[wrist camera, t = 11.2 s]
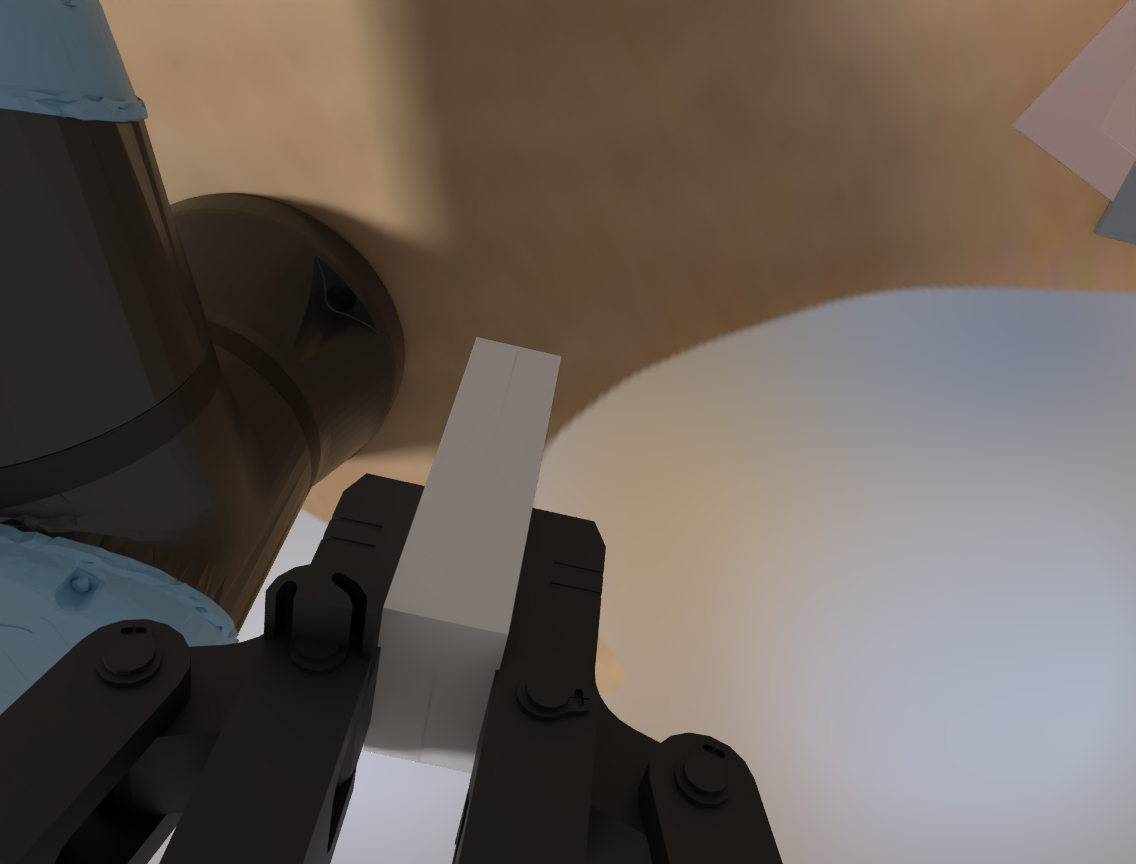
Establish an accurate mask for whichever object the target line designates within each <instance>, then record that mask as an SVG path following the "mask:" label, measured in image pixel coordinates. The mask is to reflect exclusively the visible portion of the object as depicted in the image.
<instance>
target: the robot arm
mask: <svg viewBox="0 0 1136 864" xmlns="http://www.w3.org/2000/svg"><path fill="white" fill-rule="evenodd" d="M146 118H148V115H147V110H146V107H145V105H144V102H143V100H141V99H140V98H139V97H137V96H136V95H135V93H134V90H133V88H132V85H131V82H130V80H129V77H128V74H127V72H126V69H125V67H124V64H123V61H122V59H121V56H120V54H119V51H118V48H117V46H116V43H115V40H114V38H113V35H112V33H111V30H110V27H109V25H108V22H107V19H106V17H105V14H104V11H103V8H102V6H101V4H100V2H99V0H0V864H147V863H148V862H149V861H150V859H151V858H152V857H153V855H154V854H155V853H156V852H157V850H158V849H159V848H160V846H161V845H162V844H163V843H164V841H165V840H166V839H167V837H168V836H169V835H170V833H171V832H172V831H173V830H174V828H175V827H176V829H175V831H174V833H173V835H172V837H171V839H170V842H169V844H168V846H167V848H166V850H165V852H164V854H163V857H162V859H161V861H160V863H159V864H330V863H331V859H332V856H333V853H334V850H335V846H336V843H337V840H338V837H339V834H340V830H341V827H342V824H343V820H344V817H345V814H346V811H347V807H348V804H349V801H350V798H351V795H352V792H353V788H354V780H355V773H356V766H357V762H358V759H359V756H360V753H361V750H362V747H363V744H364V748H363V750H364V751H368V752H373V753H377V754H382V755H387V756H391V757H397V758H401V759H406V760H411V761H415V762H421V763H425V764H430V765H435V766H440V767H445V768H449V769H454V770H459V771H463V772H469V773H472V774H471V779H470V784H469V789H468V793H467V797H466V801H465V805H464V809H463V813H462V817H461V821H460V825H459V829H458V833H457V837H456V841H455V844H456V848H455V852H454V857H453V862H452V864H783V863H782V860H781V857H780V854H779V851H778V848H777V845H776V842H775V839H774V836H773V833H772V830H771V827H770V824H769V821H768V818H767V815H766V812H765V809H764V806H763V803H762V800H761V797H760V794H759V791H758V788H757V785H756V782H755V779H754V777H753V776H752V774H751V772H750V770H749V768H748V766H747V764H746V762H745V761H744V760H743V759H742V758H741V757H740V756H739V755H738V754H737V753H736V752H735V751H734V750H733V749H732V748H730V747H729V746H728V745H726V744H724V743H722V742H720V741H718V740H716V739H714V738H712V737H710V736H706V735H700V734H695V733H684V734H678V735H673V736H670V737H669V738H667V739H666V740H664V741H663V742H662V743H659V742H658V741H655V740H654V739H652V738H650V737H648V736H646V735H644V734H642V733H640V732H638V731H636V730H635V729H633V728H631V727H630V726H628V725H627V724H625V723H624V722H622V721H621V720H619V719H618V718H617V717H616V716H615V715H614V714H613V713H612V712H611V711H610V710H609V709H608V707H607V706H606V704H605V703H604V701H603V700H602V698H601V697H600V694H599V692H598V689H597V686H596V682H595V663H596V652H597V640H598V629H599V618H600V605H601V593H602V583H603V572H604V561H605V550H606V546H605V544H604V542H603V540H602V538H601V535H600V533H599V531H598V529H597V526H596V524H595V522H594V521H589V520H585V519H580V518H576V517H571V516H567V515H563V514H558V513H554V512H549V511H544V510H540V509H536V508H533V502H534V497H535V492H536V487H537V481H538V476H539V471H540V466H541V461H542V455H543V450H544V445H545V440H546V434H547V429H548V424H549V419H550V414H551V408H552V403H553V398H554V393H555V387H556V382H557V377H558V372H559V366H560V361H561V356H558V355H554V354H549V353H545V352H541V351H536V350H532V349H527V348H523V347H519V346H514V345H510V344H506V343H501V342H497V341H492V340H488V339H484V338H479V337H476V340H475V343H474V346H473V349H472V352H471V355H470V357H469V360H468V363H467V366H466V369H465V372H464V375H463V378H462V381H461V384H460V386H459V389H458V392H457V395H456V398H455V401H454V404H453V407H452V410H451V412H450V415H449V418H448V421H447V424H446V427H445V430H444V433H443V436H442V439H441V441H440V444H439V447H438V450H437V453H436V456H435V459H434V462H433V465H432V467H431V470H430V473H429V476H428V479H427V482H426V485H425V486H422V485H417V484H413V483H408V482H403V481H399V480H394V479H390V478H385V477H381V476H376V475H372V474H367V473H366V474H365V475H364V476H363V477H361V478H360V479H359V480H357V481H356V482H355V483H354V484H352V485H351V486H350V487H349V488H347V489H346V490H345V491H343V494H342V496H341V498H340V500H339V502H338V505H337V507H336V509H335V511H334V513H333V516H332V520H330V522H329V524H328V527H327V529H326V531H325V533H324V537H323V540H321V542H320V544H319V547H318V549H317V551H316V553H315V555H314V557H313V560H312V562H311V564H310V565H304V566H299V567H295V568H293V569H291V570H289V571H287V572H286V573H284V574H282V575H280V576H278V577H277V578H276V579H275V580H274V581H273V583H272V584H271V585H270V586H269V588H268V589H267V590H266V598H265V623H264V634H263V635H261V636H259V637H256V638H253V639H250V640H247V641H244V642H240V643H238V641H239V640H238V639H236V637H237V636H238V633H239V631H240V629H241V627H242V625H243V623H244V621H245V619H246V617H247V615H248V613H249V611H250V609H251V607H252V605H253V603H254V601H255V599H256V597H257V595H258V593H259V591H260V589H261V587H262V585H263V583H264V581H265V579H266V577H267V575H268V573H269V571H270V569H271V567H272V565H273V563H274V561H275V559H276V557H277V555H278V553H279V550H280V549H281V547H282V545H283V543H284V541H285V539H286V537H287V535H288V533H289V531H290V529H291V527H292V525H293V523H294V521H295V519H296V517H297V515H298V513H299V511H300V509H301V507H302V505H303V503H304V501H305V499H306V497H307V495H308V493H309V491H310V489H311V487H312V486H314V485H315V484H316V483H318V482H319V481H320V480H322V479H323V478H325V477H326V476H327V475H328V474H330V473H331V472H332V471H334V470H335V469H336V468H338V467H339V466H340V465H341V464H343V463H344V462H345V461H346V460H348V459H350V458H351V457H353V456H354V455H355V454H356V453H358V452H359V451H360V450H361V449H362V448H364V447H365V446H366V445H367V443H368V442H369V441H370V440H371V439H372V438H373V437H374V435H375V434H376V433H377V431H378V430H379V429H380V427H381V425H382V424H383V422H384V420H385V418H386V416H387V414H388V412H389V410H390V408H391V405H392V403H393V401H394V399H395V397H396V394H397V392H398V389H399V386H400V383H401V379H402V375H403V369H404V340H403V334H402V329H401V325H400V321H399V318H398V315H397V312H396V309H395V307H394V304H393V302H392V300H391V298H390V296H389V294H388V292H387V290H386V288H385V287H384V285H383V283H382V282H381V280H380V279H379V277H378V276H377V274H376V273H375V271H374V270H373V269H372V268H371V266H370V265H369V264H368V263H367V261H366V260H365V259H364V258H363V257H362V256H361V255H360V254H359V253H358V252H357V251H356V250H355V249H354V248H353V247H352V246H351V245H350V244H349V243H348V242H347V241H345V240H344V239H343V238H342V237H341V236H339V235H338V234H337V233H335V232H334V231H333V230H331V229H330V228H329V227H327V226H325V225H324V224H322V223H321V222H319V221H318V220H316V219H314V218H312V217H311V216H309V215H307V214H305V213H303V212H301V211H298V210H296V209H294V208H291V207H289V206H286V205H283V204H281V203H278V202H275V201H271V200H267V199H263V198H259V197H253V196H247V195H238V194H213V195H204V196H198V197H193V198H189V199H186V200H182V201H180V202H177V203H174V204H172V205H170V204H169V201H168V198H167V195H166V192H165V188H164V185H163V182H162V179H161V175H160V172H159V169H158V165H157V162H156V159H155V155H154V152H153V148H152V145H151V142H150V138H149V135H148V132H147V128H146V125H145V122H144V119H146Z"/></svg>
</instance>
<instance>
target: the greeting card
mask: <svg viewBox="0 0 1136 864" xmlns="http://www.w3.org/2000/svg"><path fill="white" fill-rule="evenodd" d="M1011 126H1012V127H1014V128H1015V129H1016V130H1018V131H1019V132H1020V133H1022V134H1023V135H1024V136H1026V137H1027V138H1028V139H1030V140H1031V141H1032V142H1034V143H1035V144H1036V145H1038V146H1039V147H1040V148H1042V149H1043V150H1044V151H1046V152H1047V153H1048V154H1050V155H1051V156H1052V157H1054V158H1055V159H1056V160H1058V161H1059V162H1060V163H1062V164H1063V165H1064V166H1066V167H1067V168H1068V169H1070V170H1071V171H1072V172H1074V173H1075V174H1076V175H1078V176H1079V177H1080V178H1082V179H1083V180H1084V181H1086V182H1087V183H1089V184H1090V185H1091V186H1093V187H1094V188H1095V189H1097V190H1098V191H1099V192H1101V193H1102V194H1103V195H1105V196H1106V197H1107V198H1109V199H1110V200H1111V201H1113V200H1114V198H1115V197H1116V195H1117V193H1118V191H1119V189H1120V187H1121V186H1122V184H1123V182H1124V180H1125V178H1126V177H1127V175H1128V173H1129V171H1130V169H1131V167H1132V166H1133V164H1134V162H1135V160H1136V0H1129V1H1128V2H1127V3H1126V4H1125V5H1124V6H1123V7H1122V8H1121V9H1120V10H1119V11H1118V13H1117V14H1116V15H1115V16H1114V17H1113V18H1112V19H1111V20H1110V21H1109V22H1108V23H1107V24H1106V25H1105V26H1104V27H1103V28H1102V30H1101V31H1100V32H1099V33H1098V34H1097V35H1096V36H1095V37H1094V38H1093V39H1092V40H1091V41H1090V42H1089V43H1088V44H1087V45H1086V47H1085V48H1084V49H1083V50H1082V51H1081V52H1080V53H1079V54H1078V55H1077V56H1076V57H1075V58H1074V59H1073V60H1072V61H1071V62H1070V64H1069V65H1068V66H1067V67H1066V68H1065V69H1064V70H1063V71H1062V72H1061V73H1060V74H1059V75H1058V76H1057V77H1056V78H1055V79H1054V81H1053V82H1052V83H1051V84H1050V85H1049V86H1048V87H1047V88H1046V89H1045V90H1044V91H1043V92H1042V93H1041V94H1040V95H1039V96H1038V98H1037V99H1036V100H1035V101H1034V102H1033V103H1032V104H1031V105H1030V106H1029V107H1028V108H1027V109H1026V110H1025V111H1024V112H1023V113H1022V114H1021V116H1020V117H1019V118H1018V119H1017V120H1016V121H1015V122H1014V123H1013V124H1012V125H1011Z"/></svg>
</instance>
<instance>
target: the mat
mask: <svg viewBox="0 0 1136 864" xmlns="http://www.w3.org/2000/svg"><path fill="white" fill-rule="evenodd" d="M1094 232H1095V233H1096V234H1097V235H1099V236H1103V237H1107V238H1111V239H1115V240H1119V241H1124V242H1128V243H1132V244H1136V160H1135V162H1134V164H1133V166H1132V167H1131V169H1130V171H1129V173H1128V175H1127V177H1126V178H1125V180H1124V182H1123V184H1122V186H1121V187H1120V189H1119V191H1118V193H1117V195H1116V197H1115V198H1114V200H1113V201H1111V202H1110V204H1109V206H1108V207H1107V209H1106V211H1105V213H1104V215H1103V216H1102V218H1101V220H1100V222H1099V224H1098V225H1097V227H1096V229H1095V231H1094Z"/></svg>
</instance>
